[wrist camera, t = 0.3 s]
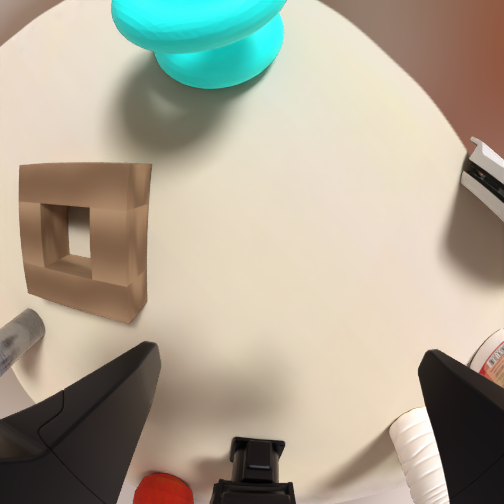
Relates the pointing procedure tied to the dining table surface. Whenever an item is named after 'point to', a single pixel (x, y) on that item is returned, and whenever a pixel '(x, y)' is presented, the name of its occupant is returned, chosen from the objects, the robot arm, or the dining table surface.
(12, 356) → the steel pin
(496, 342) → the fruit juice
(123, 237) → the block
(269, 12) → the donuts
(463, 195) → the dining table surface
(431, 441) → the water bottle
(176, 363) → the dining table surface
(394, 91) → the dining table surface
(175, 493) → the apple
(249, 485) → the robot arm
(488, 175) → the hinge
